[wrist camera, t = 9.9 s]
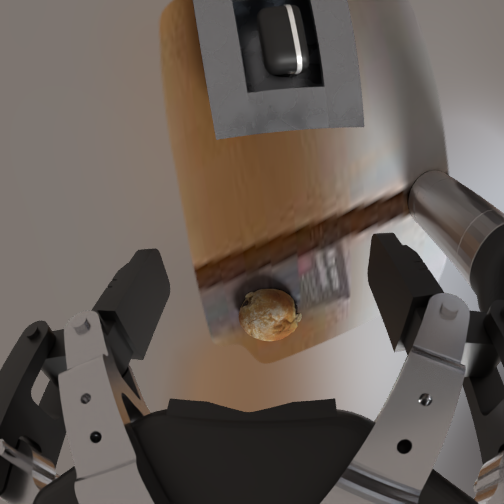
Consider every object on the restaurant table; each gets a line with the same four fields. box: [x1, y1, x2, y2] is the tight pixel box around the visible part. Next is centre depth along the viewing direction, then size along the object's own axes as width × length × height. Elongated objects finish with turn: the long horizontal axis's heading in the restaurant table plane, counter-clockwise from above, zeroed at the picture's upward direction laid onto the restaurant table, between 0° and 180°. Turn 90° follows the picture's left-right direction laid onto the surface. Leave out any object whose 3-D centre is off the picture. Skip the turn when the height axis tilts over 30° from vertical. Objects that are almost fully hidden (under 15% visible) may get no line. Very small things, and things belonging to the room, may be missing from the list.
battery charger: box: [257, 4, 309, 77], centre depth 22 cm, size 7×4×11 cm, turn 9°
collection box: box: [193, 0, 364, 140], centre depth 23 cm, size 14×18×10 cm
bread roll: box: [239, 289, 302, 341], centre depth 47 cm, size 10×10×8 cm
